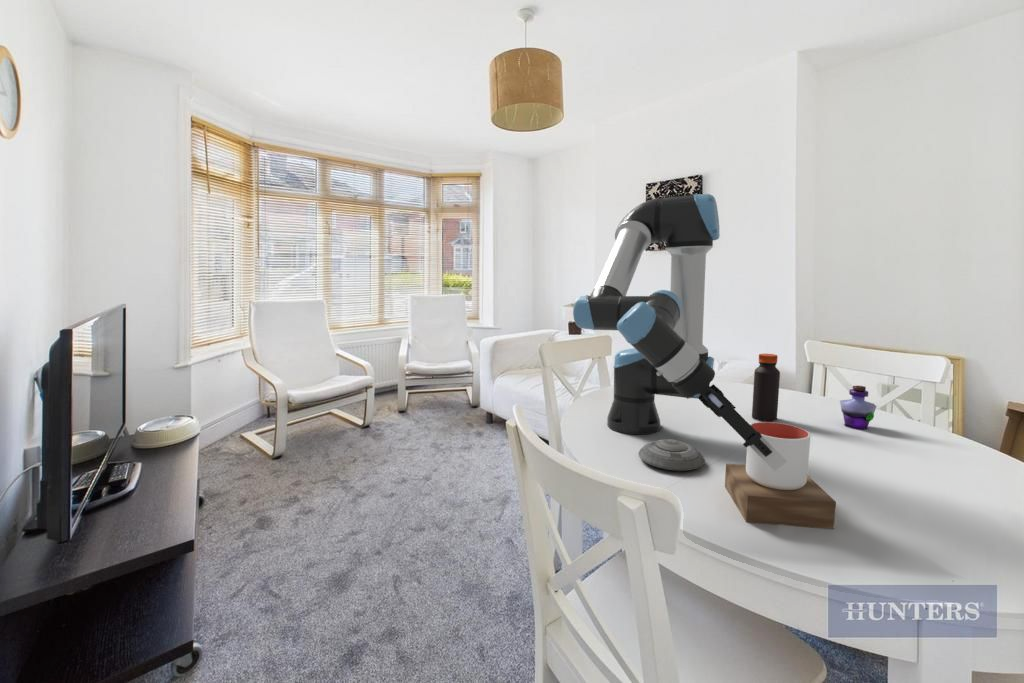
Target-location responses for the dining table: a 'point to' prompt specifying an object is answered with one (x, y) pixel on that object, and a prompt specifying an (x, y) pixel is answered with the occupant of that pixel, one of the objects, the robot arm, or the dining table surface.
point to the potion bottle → (857, 409)
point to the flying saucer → (671, 455)
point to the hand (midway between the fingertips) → (765, 451)
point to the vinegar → (766, 389)
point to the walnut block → (779, 501)
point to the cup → (789, 446)
